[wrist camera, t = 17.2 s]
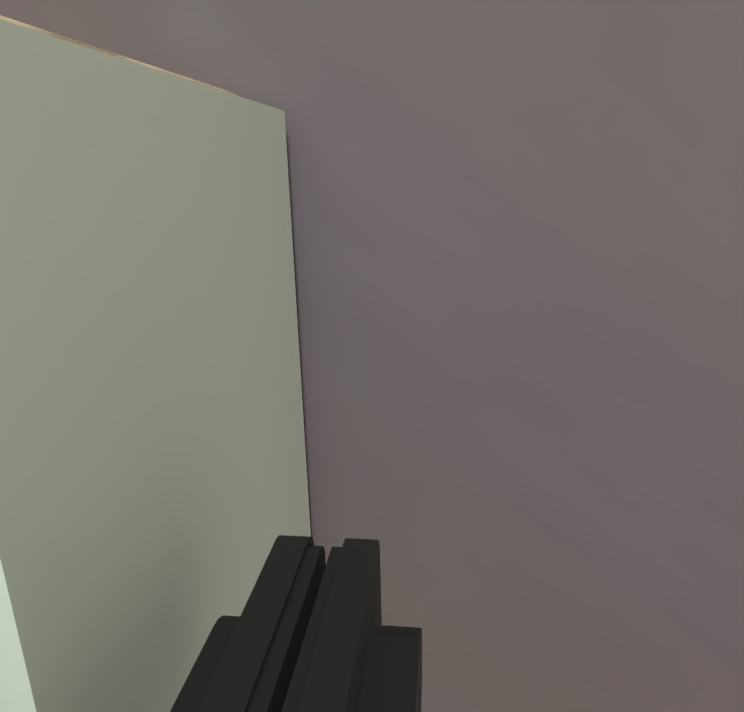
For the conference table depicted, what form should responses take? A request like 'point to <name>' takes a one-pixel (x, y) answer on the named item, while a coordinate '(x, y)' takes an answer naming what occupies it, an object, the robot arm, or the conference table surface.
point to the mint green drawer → (137, 372)
